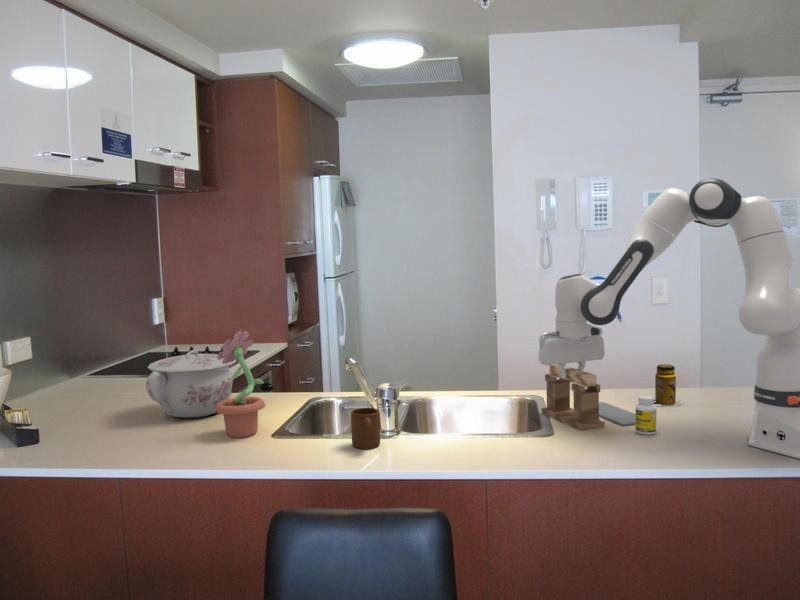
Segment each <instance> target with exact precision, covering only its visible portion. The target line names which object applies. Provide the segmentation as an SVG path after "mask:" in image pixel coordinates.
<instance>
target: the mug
mask: <svg viewBox="0 0 800 600" xmlns="http://www.w3.org/2000/svg"><path fill="white" fill-rule="evenodd" d="M380 418H381V417H380V411H379V409H377V408H373V407H361V408H355V409H353V410H351V413H350V425H351V426H350V427H351V428H350V429H351V430H350V431H351V444H352V447H353V448H355V449H357V450H372V449H375V448H378V447H379V446H380V445H381V423H380V421H381V420H380Z"/></svg>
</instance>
